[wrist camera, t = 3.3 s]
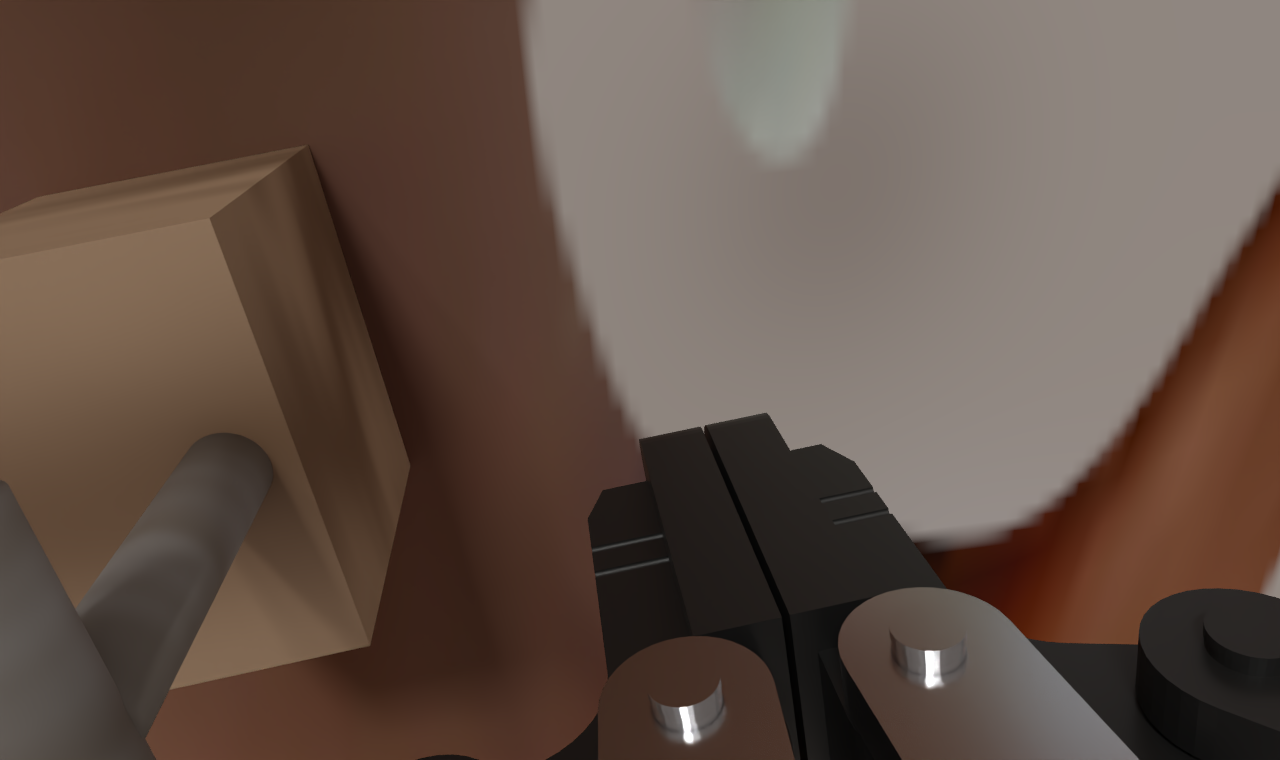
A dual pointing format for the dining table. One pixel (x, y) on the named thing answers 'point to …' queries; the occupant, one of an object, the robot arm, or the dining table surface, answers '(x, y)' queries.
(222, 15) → the dining table surface
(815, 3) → the dining table surface
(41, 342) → the tan block
